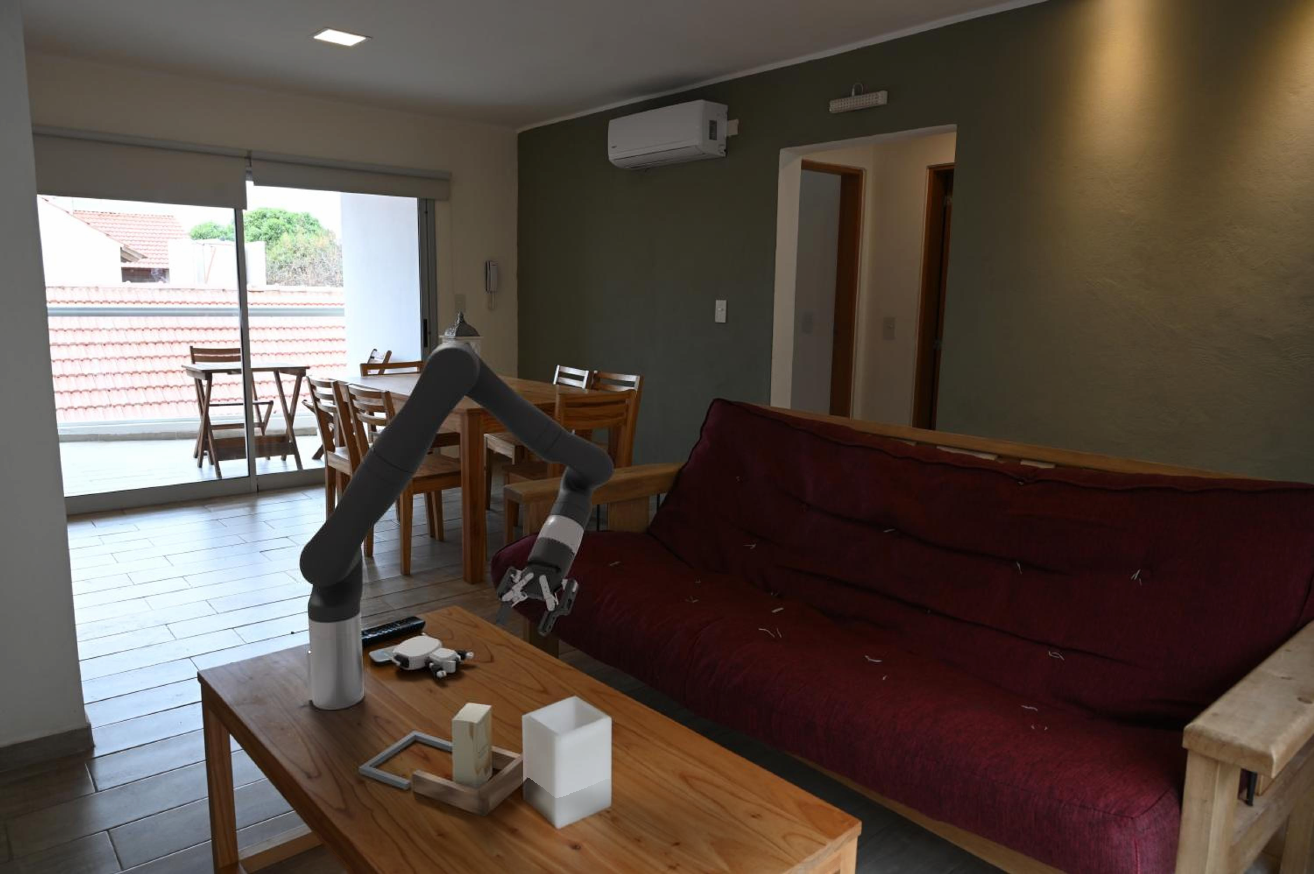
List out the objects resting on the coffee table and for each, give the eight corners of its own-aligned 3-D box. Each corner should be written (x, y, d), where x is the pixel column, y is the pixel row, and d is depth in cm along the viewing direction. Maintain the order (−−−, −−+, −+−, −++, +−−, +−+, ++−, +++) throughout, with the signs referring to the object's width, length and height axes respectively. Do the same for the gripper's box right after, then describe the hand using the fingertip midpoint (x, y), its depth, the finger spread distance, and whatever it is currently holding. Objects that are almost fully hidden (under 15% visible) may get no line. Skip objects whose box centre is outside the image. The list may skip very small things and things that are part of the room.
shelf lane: (412, 790, 132) (411, 767, 131) (463, 752, 143) (462, 731, 142) (484, 816, 126) (484, 792, 125) (531, 774, 137) (531, 752, 136)
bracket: (359, 772, 136) (358, 767, 136) (414, 735, 148) (414, 730, 147) (406, 789, 132) (406, 784, 132) (459, 750, 143) (459, 744, 143)
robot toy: (477, 666, 177) (420, 648, 183) (478, 646, 176) (420, 629, 182) (440, 690, 166) (381, 670, 172) (441, 670, 165) (381, 650, 171)
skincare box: (477, 796, 131) (476, 723, 128) (451, 792, 131) (450, 720, 129) (493, 773, 137) (492, 704, 135) (468, 769, 138) (467, 700, 136)
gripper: (514, 530, 151) (476, 612, 142) (582, 541, 144) (546, 627, 136) (532, 550, 156) (496, 630, 148) (598, 562, 150) (564, 646, 142)
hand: (520, 629), depth 142 cm, fingers open, 8 cm apart
